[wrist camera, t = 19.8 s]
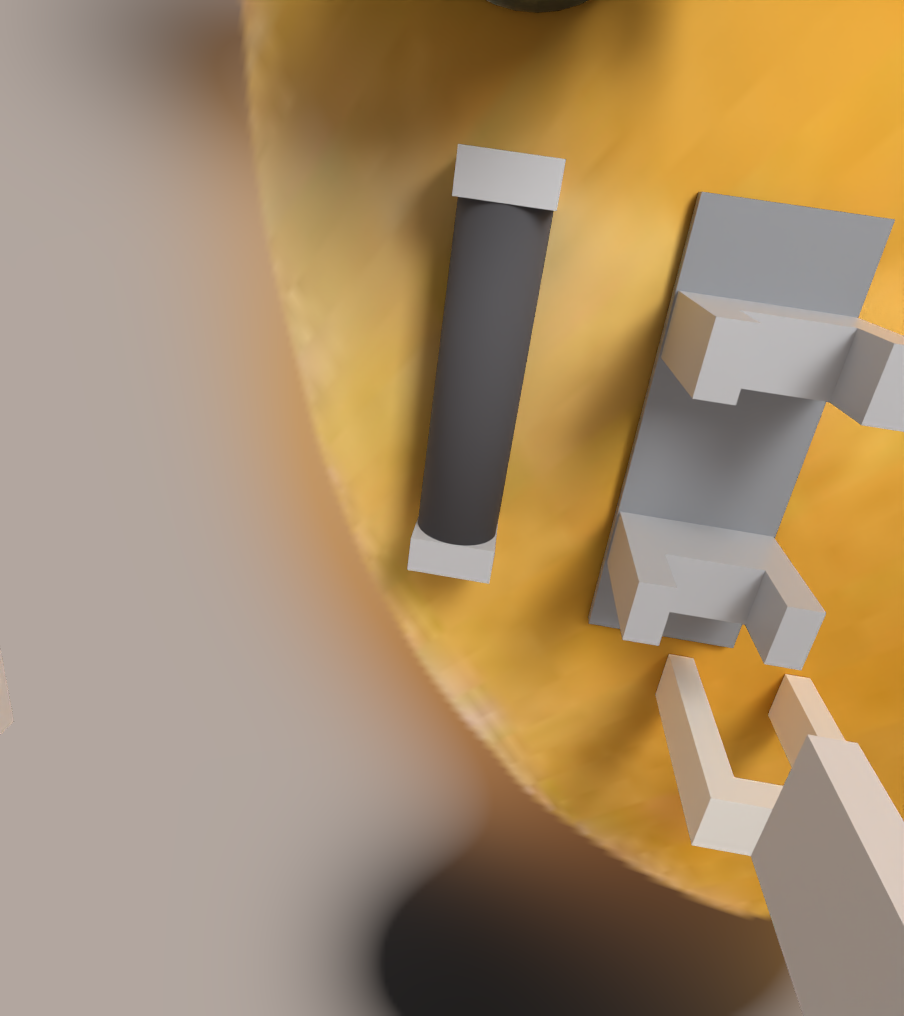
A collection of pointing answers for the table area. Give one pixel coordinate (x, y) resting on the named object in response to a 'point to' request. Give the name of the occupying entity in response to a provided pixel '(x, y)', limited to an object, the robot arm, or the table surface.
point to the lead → (482, 354)
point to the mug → (537, 4)
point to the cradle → (744, 423)
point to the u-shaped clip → (703, 761)
